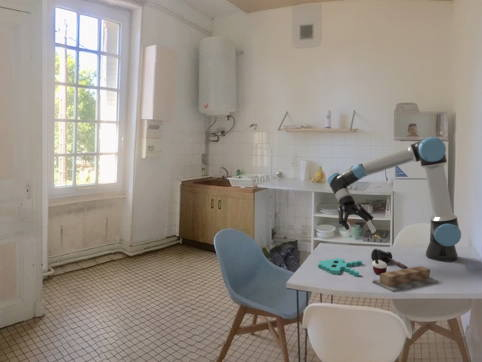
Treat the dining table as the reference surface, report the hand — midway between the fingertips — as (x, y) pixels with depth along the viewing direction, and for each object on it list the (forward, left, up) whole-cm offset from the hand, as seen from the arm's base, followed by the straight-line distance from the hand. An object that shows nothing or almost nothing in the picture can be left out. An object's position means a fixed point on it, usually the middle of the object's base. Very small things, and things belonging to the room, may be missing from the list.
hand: (363, 233), depth 198 cm
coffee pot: (-15, +2, -18) cm, 23 cm away
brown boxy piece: (-2, +25, -17) cm, 30 cm away
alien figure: (+11, -4, -18) cm, 21 cm away
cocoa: (0, +11, -17) cm, 21 cm away
